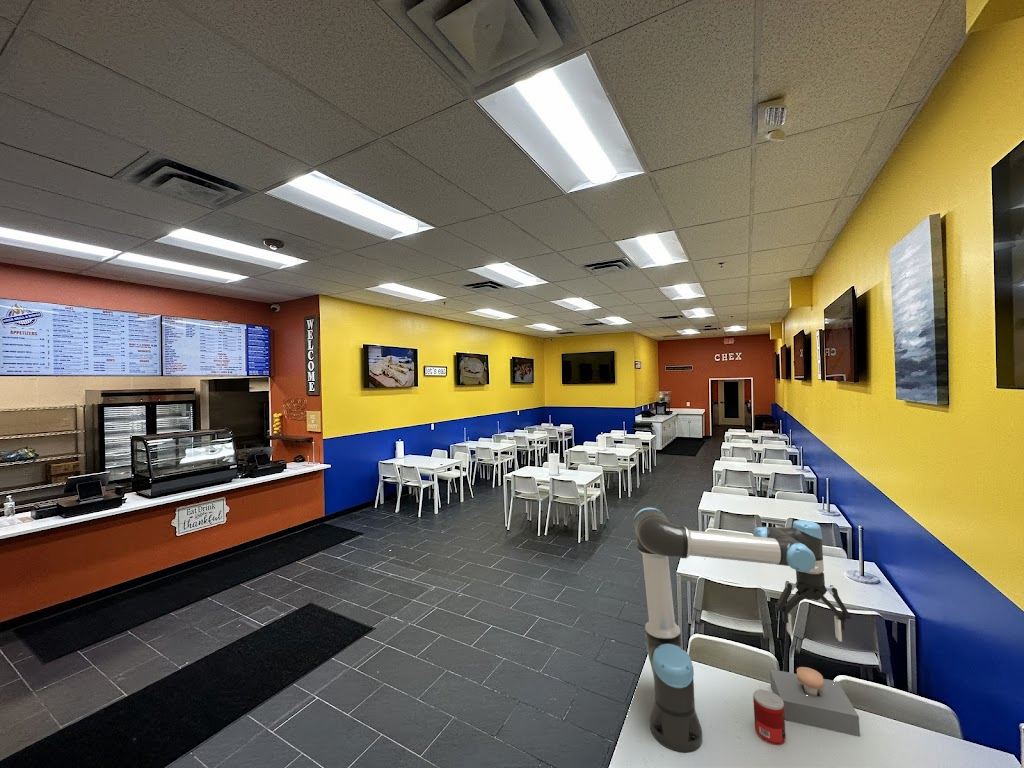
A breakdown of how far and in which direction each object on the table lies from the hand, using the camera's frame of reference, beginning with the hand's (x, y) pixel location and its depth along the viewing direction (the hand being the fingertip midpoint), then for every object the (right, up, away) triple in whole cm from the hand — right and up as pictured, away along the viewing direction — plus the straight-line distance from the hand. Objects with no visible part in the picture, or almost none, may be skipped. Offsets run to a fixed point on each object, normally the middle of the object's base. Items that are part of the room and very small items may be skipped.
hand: (813, 635), depth 132 cm
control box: (0, -25, +1) cm, 25 cm away
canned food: (-20, -26, -8) cm, 33 cm away
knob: (0, -22, +1) cm, 22 cm away
